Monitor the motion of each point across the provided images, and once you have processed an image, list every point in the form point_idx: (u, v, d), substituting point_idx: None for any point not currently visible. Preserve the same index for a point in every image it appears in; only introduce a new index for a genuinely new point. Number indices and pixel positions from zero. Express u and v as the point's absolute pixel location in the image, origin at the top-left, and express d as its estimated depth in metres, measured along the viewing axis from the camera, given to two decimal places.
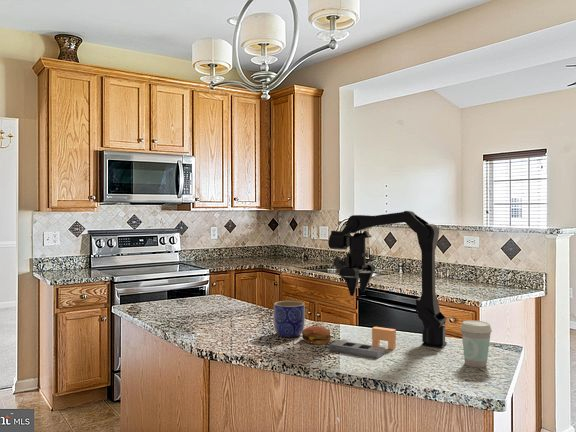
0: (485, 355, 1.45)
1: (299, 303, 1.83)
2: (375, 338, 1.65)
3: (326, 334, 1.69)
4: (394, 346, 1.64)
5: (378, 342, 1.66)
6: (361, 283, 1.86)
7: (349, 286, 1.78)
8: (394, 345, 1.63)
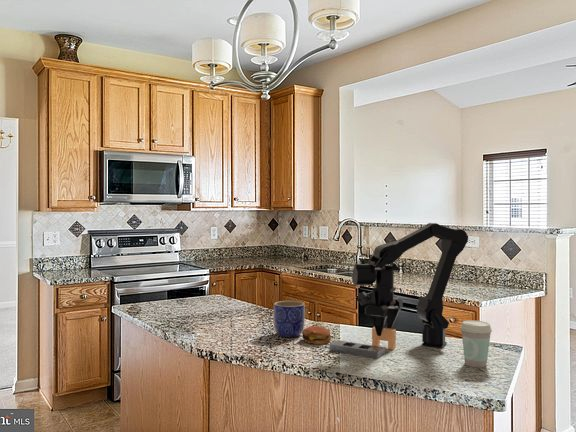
0: (485, 355, 1.45)
1: (299, 303, 1.83)
2: (375, 338, 1.65)
3: (326, 334, 1.69)
4: (394, 346, 1.64)
5: (378, 342, 1.66)
6: (388, 320, 1.69)
7: (376, 325, 1.61)
8: (394, 345, 1.63)
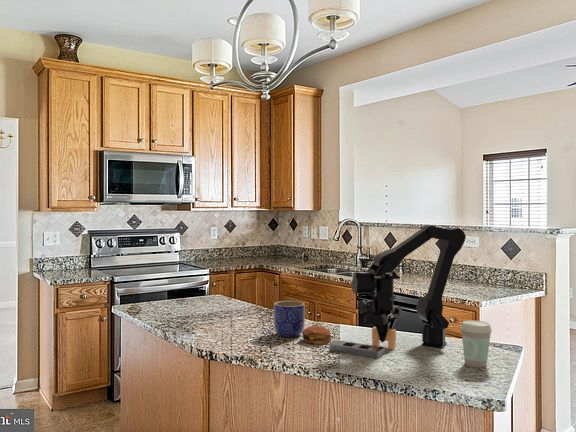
0: (485, 355, 1.45)
1: (299, 303, 1.83)
2: (375, 338, 1.65)
3: (326, 334, 1.69)
4: (394, 346, 1.64)
5: (378, 342, 1.66)
6: None
7: (379, 332, 1.63)
8: (394, 345, 1.63)
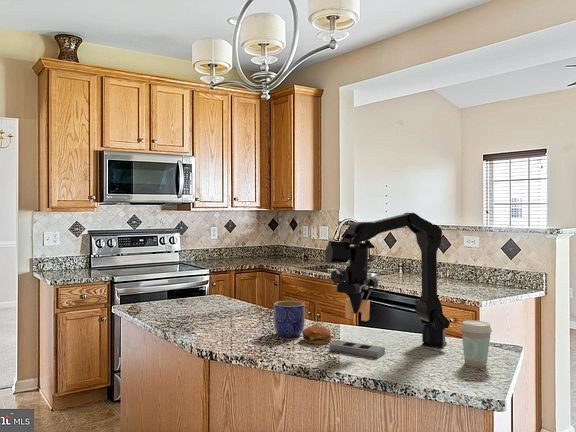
0: (485, 355, 1.45)
1: (299, 303, 1.83)
2: (348, 309, 1.60)
3: (327, 334, 1.70)
4: (368, 318, 1.58)
5: (351, 314, 1.61)
6: None
7: (353, 303, 1.57)
8: (367, 316, 1.57)
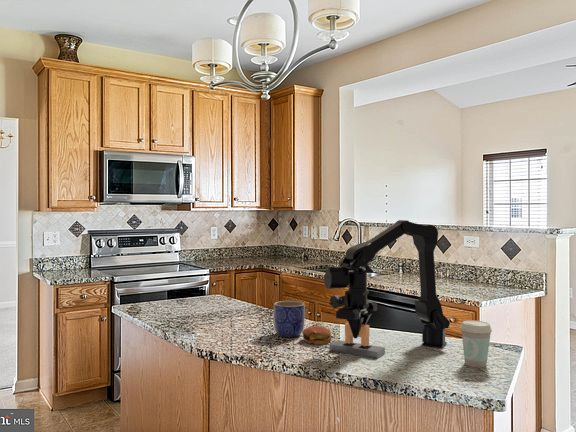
0: (485, 355, 1.45)
1: (299, 303, 1.83)
2: (348, 334, 1.60)
3: (327, 334, 1.70)
4: (367, 342, 1.58)
5: (351, 338, 1.60)
6: None
7: (352, 328, 1.57)
8: (367, 341, 1.57)
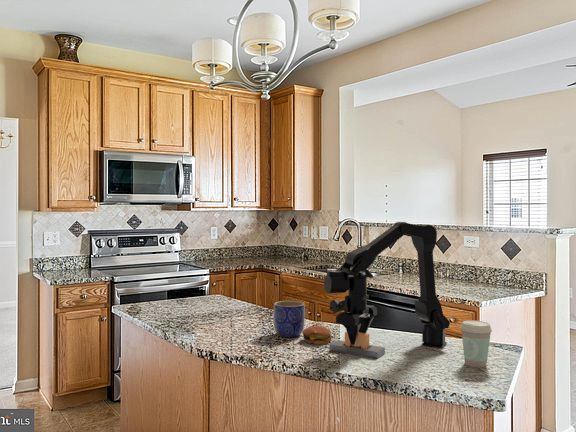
0: (485, 355, 1.45)
1: (299, 303, 1.83)
2: (348, 343, 1.60)
3: (327, 334, 1.70)
4: None
5: None
6: (360, 329, 1.62)
7: (349, 334, 1.56)
8: None
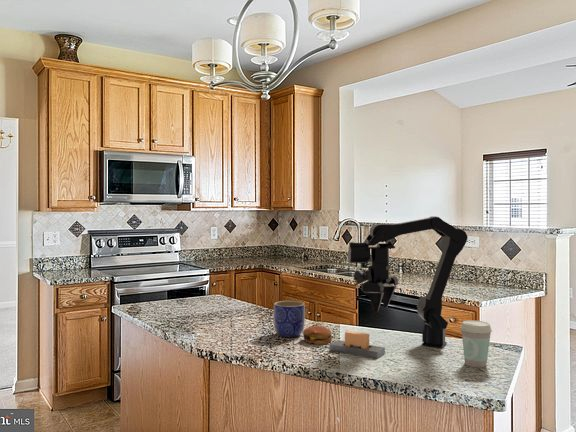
0: (485, 355, 1.45)
1: (299, 303, 1.83)
2: (348, 343, 1.60)
3: (327, 334, 1.70)
4: None
5: None
6: (384, 298, 1.72)
7: (373, 302, 1.63)
8: None
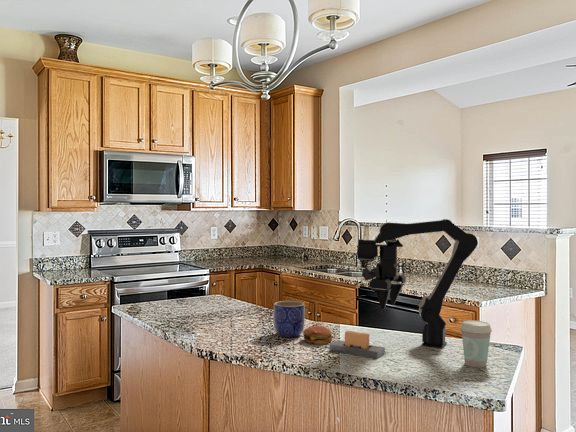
0: (485, 355, 1.45)
1: (299, 303, 1.83)
2: (348, 343, 1.60)
3: (327, 334, 1.70)
4: None
5: None
6: (391, 295, 1.75)
7: (380, 299, 1.66)
8: None
